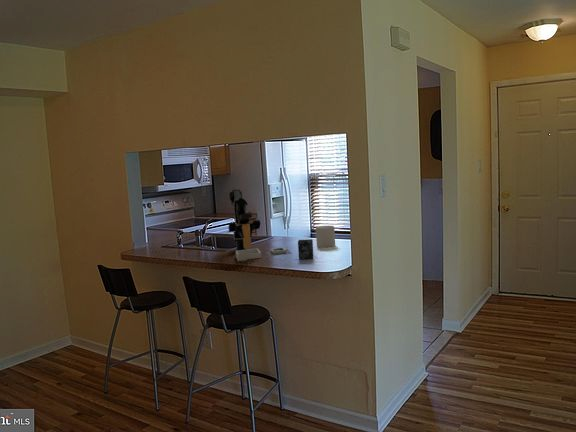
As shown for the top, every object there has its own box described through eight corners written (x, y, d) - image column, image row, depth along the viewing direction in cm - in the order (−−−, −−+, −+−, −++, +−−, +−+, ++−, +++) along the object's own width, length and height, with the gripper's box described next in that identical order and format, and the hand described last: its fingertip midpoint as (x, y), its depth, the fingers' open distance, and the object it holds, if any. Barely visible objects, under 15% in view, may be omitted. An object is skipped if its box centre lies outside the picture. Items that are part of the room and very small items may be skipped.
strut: (245, 247, 303) (243, 223, 301) (252, 247, 302) (250, 223, 300) (242, 248, 299) (240, 225, 297) (249, 248, 298) (247, 225, 296)
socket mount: (265, 253, 312) (264, 248, 312) (287, 250, 315) (287, 246, 314) (268, 257, 299) (268, 252, 298) (292, 255, 301) (291, 250, 301)
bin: (235, 257, 307) (235, 250, 306) (258, 254, 309) (257, 248, 309) (238, 261, 293) (237, 255, 293) (261, 259, 296) (260, 252, 295)
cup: (334, 247, 316) (333, 228, 314) (315, 247, 318) (314, 229, 316) (336, 243, 327) (335, 225, 325) (318, 244, 329) (317, 226, 328)
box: (298, 259, 287) (297, 241, 286) (300, 257, 293) (298, 239, 291) (312, 259, 286) (311, 240, 285) (313, 257, 292) (312, 239, 290)
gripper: (227, 209, 299) (232, 230, 290) (258, 206, 304) (264, 227, 295) (226, 221, 307) (231, 242, 298) (256, 218, 312) (262, 238, 303)
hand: (247, 237), depth 298 cm, fingers closed on strut, 4 cm apart
